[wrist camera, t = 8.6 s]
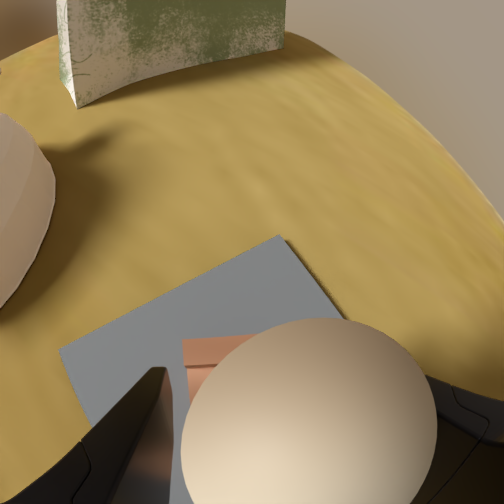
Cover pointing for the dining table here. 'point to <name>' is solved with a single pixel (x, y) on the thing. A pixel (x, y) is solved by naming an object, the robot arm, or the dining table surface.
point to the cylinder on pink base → (306, 417)
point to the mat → (191, 332)
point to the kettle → (21, 202)
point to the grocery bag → (157, 38)
